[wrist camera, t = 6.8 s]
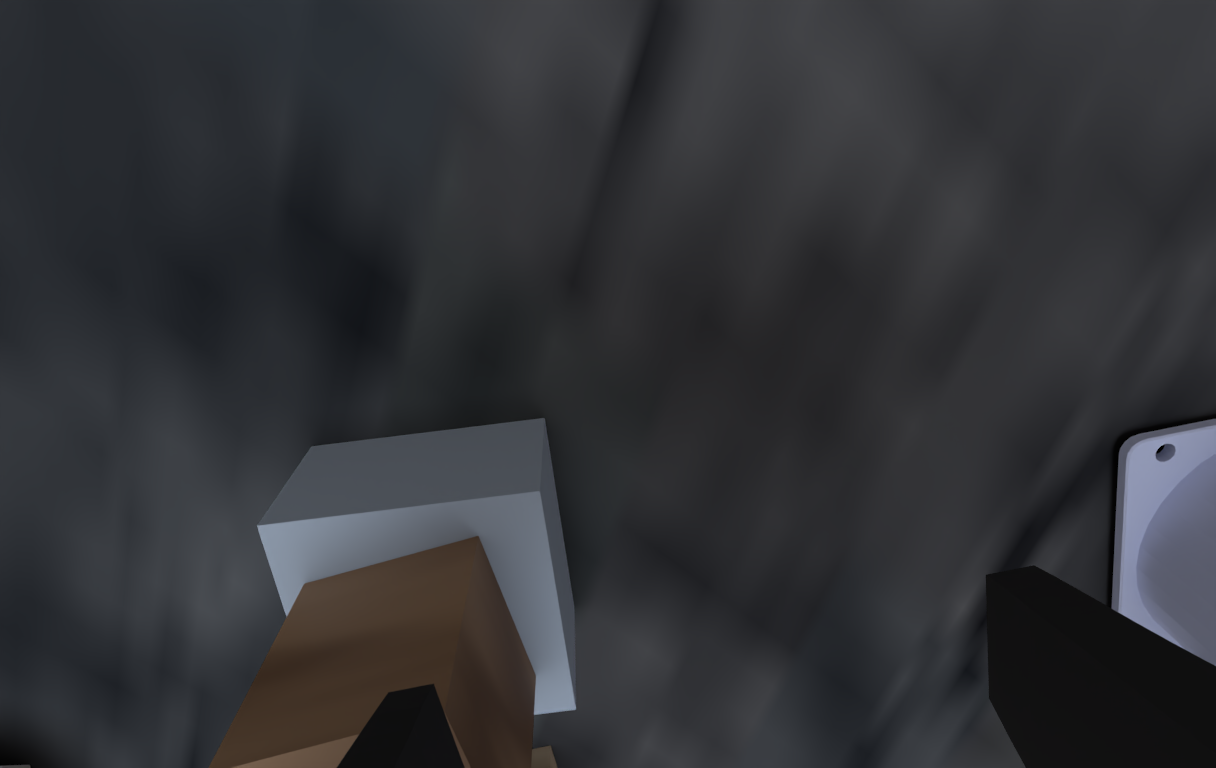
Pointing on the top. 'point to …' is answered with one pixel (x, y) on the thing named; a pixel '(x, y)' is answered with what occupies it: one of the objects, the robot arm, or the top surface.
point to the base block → (438, 525)
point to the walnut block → (390, 664)
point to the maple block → (543, 758)
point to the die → (16, 766)
